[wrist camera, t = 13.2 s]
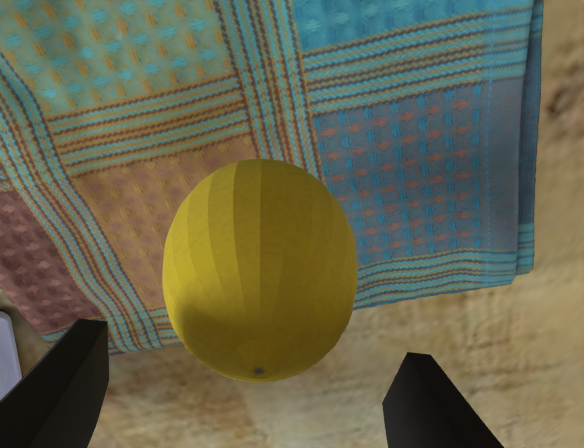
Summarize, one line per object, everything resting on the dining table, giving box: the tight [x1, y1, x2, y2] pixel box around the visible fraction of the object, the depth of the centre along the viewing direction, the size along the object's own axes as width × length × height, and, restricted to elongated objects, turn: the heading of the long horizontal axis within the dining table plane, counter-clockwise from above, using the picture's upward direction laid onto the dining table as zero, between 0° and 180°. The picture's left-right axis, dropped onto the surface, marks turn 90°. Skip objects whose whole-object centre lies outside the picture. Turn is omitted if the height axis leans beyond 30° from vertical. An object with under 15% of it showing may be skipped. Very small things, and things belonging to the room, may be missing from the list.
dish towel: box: [0, 0, 543, 356], centre depth 17 cm, size 17×23×2 cm
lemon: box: [162, 158, 358, 383], centre depth 13 cm, size 6×6×8 cm
